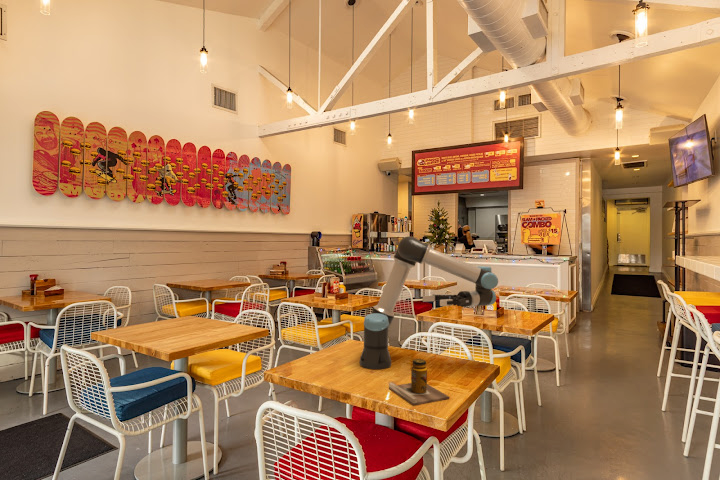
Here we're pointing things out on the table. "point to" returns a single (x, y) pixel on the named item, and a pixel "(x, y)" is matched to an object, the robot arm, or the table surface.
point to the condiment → (418, 378)
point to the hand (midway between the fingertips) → (431, 300)
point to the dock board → (418, 399)
